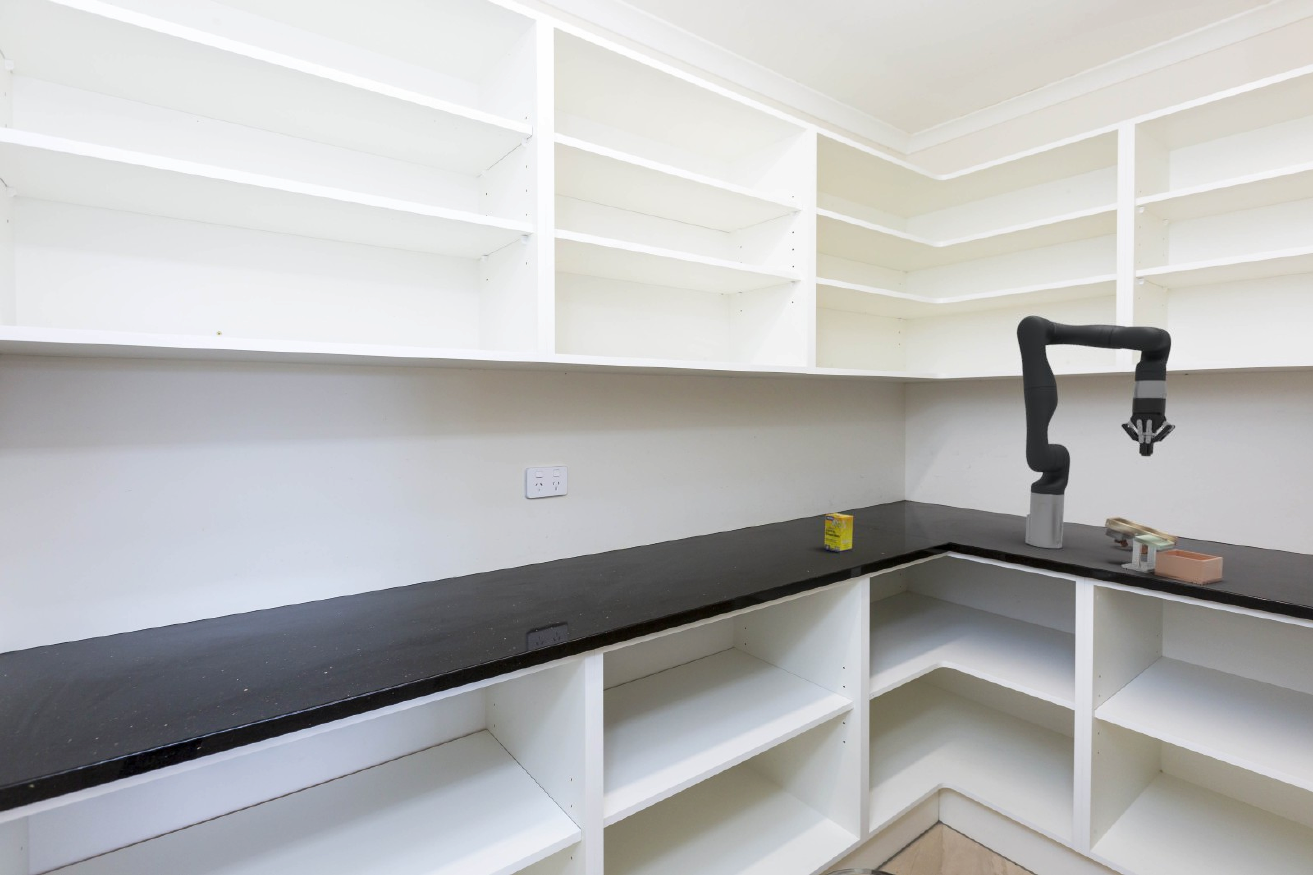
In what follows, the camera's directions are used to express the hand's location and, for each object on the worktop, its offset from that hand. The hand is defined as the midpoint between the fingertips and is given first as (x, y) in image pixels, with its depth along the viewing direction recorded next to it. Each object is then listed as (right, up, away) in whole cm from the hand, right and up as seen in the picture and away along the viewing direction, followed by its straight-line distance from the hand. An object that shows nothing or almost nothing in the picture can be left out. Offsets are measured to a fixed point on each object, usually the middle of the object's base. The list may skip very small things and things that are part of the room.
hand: (1146, 456), depth 175 cm
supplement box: (-87, -30, +10) cm, 92 cm away
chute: (-10, -25, -8) cm, 28 cm away
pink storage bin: (-2, -32, -16) cm, 36 cm away
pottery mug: (+10, -31, +16) cm, 36 cm away
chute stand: (-6, -31, -7) cm, 33 cm away
